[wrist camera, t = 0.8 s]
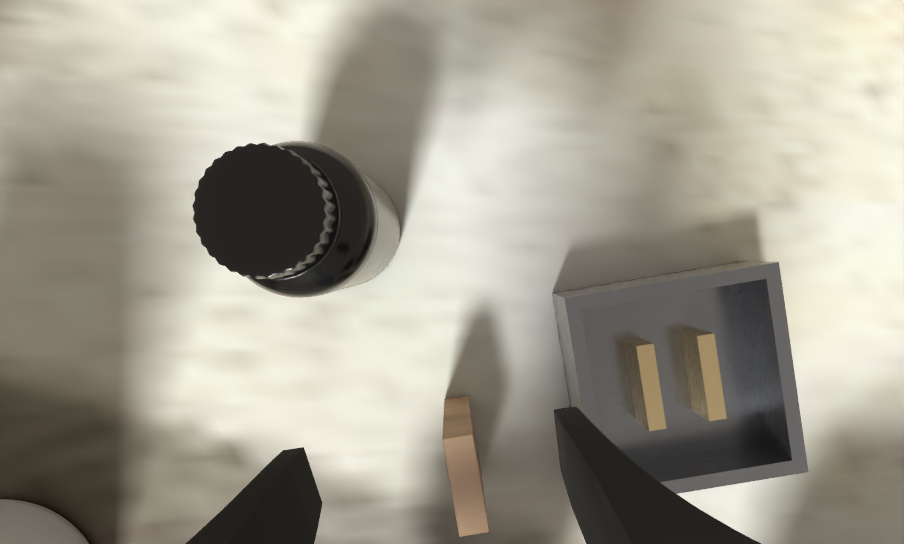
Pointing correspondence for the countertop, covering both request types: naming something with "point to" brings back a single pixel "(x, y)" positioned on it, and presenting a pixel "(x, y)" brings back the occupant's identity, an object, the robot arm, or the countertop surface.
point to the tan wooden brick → (464, 467)
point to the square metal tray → (688, 373)
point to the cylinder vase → (35, 525)
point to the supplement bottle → (295, 218)
